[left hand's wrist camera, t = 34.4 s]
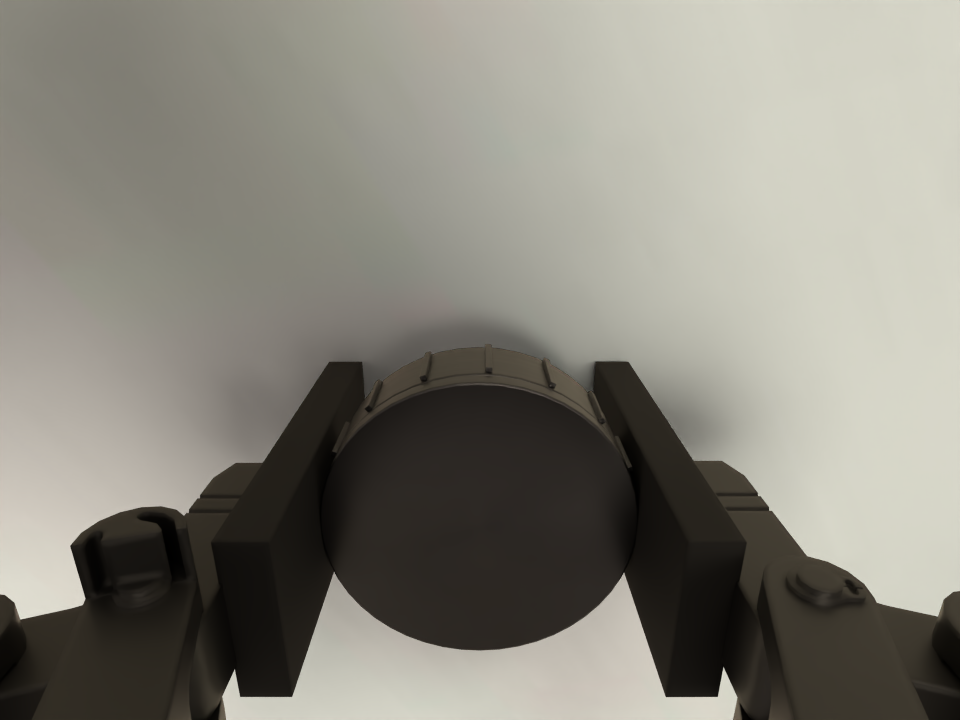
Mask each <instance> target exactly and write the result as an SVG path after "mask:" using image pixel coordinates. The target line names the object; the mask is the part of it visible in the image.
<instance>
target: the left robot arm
mask: <svg viewBox="0 0 960 720" xmlns="http://www.w3.org/2000/svg"><path fill="white" fill-rule="evenodd" d="M594 394H595V396H596V399H597V401H598V403H599V406H600V408H601V410H602V412H603V414H604V415H605V417H606V419H607V421H608V424H609V426H610V428H611V430H612V432H613V434H614V437H615V436H619V439H620V441H621V443H622V445H623V447H624V450H625V452H626V454H627V456H628V458H629V461H630V463H631V465H632V468H633V471H632V472H630V473H631V476H632V479H633V483H634V486H635V489H636V494H637V501H638V509H639V511H638V524H637V533H636V541H635V546H634V549H633V552H632V555H631V558H630V561H629V563H628V565H627V567H626V569H625V571H624V573H625V576H626V579H627V582H628V585H629V588H630V591H631V594H632V597H633V600H634V603H635V606H636V609H637V612H638V615H639V618H640V621H641V624H642V627H643V630H644V633H645V636H646V639H647V642H648V645H649V648H650V651H651V654H652V657H653V660H654V663H655V666H656V669H657V672H658V675H659V678H660V681H661V684H662V687H663V690H664V693H665V696H666V697H718V692H719V687H720V682H721V676H722V671H723V667H724V669H725V671H726V673H727V675H728V677H729V680H730V682H731V684H732V686H733V688H734V690H735V693H736V695H737V697H738V698H737V703H736V708H735V713H734V718H733V720H960V591H958V592H953V593H952V594H950V595H949V596H948V597H947V598H945V599H944V601H943V604H942V607H941V610H940V613H939V615H938V617H936V616H932V615H927V614H923V613H918V612H913V611H909V610H904V609H899V608H895V607H890V606H886V605H882V604H879V603H876V601H875V598H874V597H873V596H872V594H871V593H870V591H869V590H868V589H867V587H866V586H865V585H864V584H863V583H862V582H861V581H859V580H858V579H857V578H855V577H854V576H853V575H852V574H850V573H849V572H848V571H846V570H843V569H841V568H839V567H837V566H835V565H833V564H831V563H829V562H826V561H822V560H819V559H815V558H811V557H808V556H806V554H805V553H804V552H803V550H802V549H801V548H800V547H799V545H798V544H797V543H796V541H795V540H794V539H793V538H792V536H791V535H790V534H789V532H788V531H787V530H786V529H785V527H784V526H783V525H782V523H781V522H780V521H779V520H778V518H777V517H776V516H775V514H774V513H773V512H772V511H769V507H768V505H767V504H766V503H765V502H764V500H763V499H762V498H761V496H758V493H757V491H756V490H755V489H754V487H753V486H752V485H751V484H750V482H749V481H748V480H747V478H746V477H745V476H744V475H743V474H741V473H740V472H738V471H736V470H735V469H733V468H732V467H730V466H729V465H727V464H726V463H724V462H723V461H693V459H692V458H691V456H690V455H689V453H688V452H687V450H686V449H685V447H684V446H683V444H682V443H681V441H680V440H679V438H678V437H677V435H676V434H675V432H674V431H673V429H672V428H671V426H670V424H669V423H668V421H667V420H666V418H665V417H664V415H663V414H662V412H661V411H660V409H659V408H658V406H657V405H656V403H655V402H654V400H653V399H652V397H651V396H650V394H649V393H648V391H647V389H646V388H645V386H644V385H643V383H642V382H641V380H640V379H639V377H638V376H637V374H636V373H635V371H634V370H633V368H632V367H631V365H630V364H629V362H596V367H595V381H594ZM364 400H365V397H364V383H363V370H362V362H329V363H328V365H327V366H326V368H325V369H324V371H323V372H322V374H321V375H320V377H319V378H318V380H317V381H316V383H315V385H314V386H313V388H312V389H311V391H310V392H309V394H308V395H307V397H306V398H305V400H304V401H303V403H302V404H301V406H300V407H299V409H298V410H297V412H296V413H295V415H294V416H293V418H292V419H291V421H290V423H289V424H288V426H287V427H286V429H285V430H284V432H283V433H282V435H281V436H280V438H279V439H278V441H277V442H276V444H275V445H274V447H273V448H272V450H271V451H270V453H269V454H268V456H267V458H266V459H265V461H264V462H263V463H235V464H234V465H232V466H231V467H229V468H228V469H226V470H225V471H223V472H222V473H220V474H219V475H217V476H216V477H214V478H213V479H212V481H211V482H210V483H209V484H208V486H207V487H206V488H205V490H204V491H203V492H202V494H201V495H200V499H197V500H196V501H195V503H194V504H193V505H192V506H191V508H190V509H189V513H186V514H185V516H183V515H182V514H181V513H180V512H178V511H177V510H175V509H170V508H166V507H161V506H160V507H141V508H137V509H133V510H128V511H124V512H120V513H118V514H115V515H113V516H110V517H108V518H106V519H103V520H101V521H99V522H97V523H96V524H94V525H93V526H91V527H90V528H88V529H87V530H85V531H84V532H82V533H81V534H80V535H79V536H78V537H77V539H76V540H75V541H74V542H73V543H72V544H71V546H70V547H71V550H72V553H73V557H74V560H75V564H76V567H77V571H78V574H79V577H80V581H81V584H82V588H83V591H84V595H85V598H86V599H85V602H84V604H83V605H82V606H79V607H75V608H72V609H67V610H63V611H58V612H54V613H49V614H44V615H40V616H35V617H31V618H26V619H22V620H20V618H19V615H18V612H17V609H16V606H15V603H14V602H13V601H11V600H10V599H9V598H8V597H7V596H5V595H0V720H226V716H225V708H224V703H223V698H222V696H223V693H224V691H225V689H226V687H227V685H228V682H229V680H230V678H231V676H232V674H233V672H234V669H235V672H236V677H237V682H238V688H239V693H240V697H292V695H293V693H294V690H295V687H296V684H297V681H298V678H299V675H300V672H301V669H302V666H303V663H304V660H305V657H306V654H307V651H308V648H309V645H310V642H311V639H312V636H313V633H314V630H315V627H316V624H317V621H318V618H319V615H320V612H321V609H322V606H323V603H324V600H325V597H326V594H327V591H328V588H329V585H330V582H331V579H332V576H333V573H334V570H333V568H332V566H331V565H330V562H329V560H328V557H327V554H326V551H325V548H324V545H323V540H322V534H321V525H320V503H321V494H322V490H323V487H324V483H325V480H326V476H327V474H328V472H329V469H330V467H331V465H332V463H333V460H334V458H335V457H332V456H330V455H331V453H332V450H333V448H334V446H335V444H336V442H337V440H338V437H339V435H340V433H341V431H342V429H343V427H344V424H345V422H349V423H350V422H351V420H352V418H353V416H354V414H355V413H356V411H357V410H358V408H359V407H360V405H361V404H362V402H363V401H364Z"/></svg>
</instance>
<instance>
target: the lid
mask: <svg viewBox="0 0 960 720" xmlns="http://www.w3.org/2000/svg"><path fill="white" fill-rule="evenodd" d="M330 456H332V457H335V458H334V460H333V463H332V465H331V467H330V469H329V472H328V474H327V476H326V480H325V483H324V487H323V490H322V494H321V503H320V525H321V534H322V540H323V545H324V548H325V551H326V554H327V557H328V560H329V562H330V565H331V566H332V568H333V570H334V572H335V574H336V576H337V578H338V579H339V581H340V582H341V583H342V585H343V586H344V588H345V589H346V590H347V592H348V593H349V594H350V595H351V596H352V597H353V598H354V599H355V601H356V602H357V603H358V604H359V605H360V606H361V607H362V608H364V609H365V610H366V611H367V612H369V613H370V614H371V615H372V616H373V617H375V618H376V619H378V620H379V621H381V622H382V623H384V624H385V625H387V626H389V627H390V628H392V629H394V630H396V631H398V632H400V633H402V634H404V635H406V636H409V637H412V638H414V639H417V640H420V641H422V642H426V643H430V644H434V645H437V646H441V647H447V648H454V649H461V650H496V649H504V648H511V647H517V646H521V645H525V644H529V643H533V642H536V641H539V640H542V639H544V638H547V637H549V636H552V635H554V634H556V633H558V632H560V631H562V630H564V629H566V628H568V627H570V626H572V625H573V624H575V623H576V622H578V621H579V620H581V619H582V618H584V617H585V616H586V615H588V614H589V613H590V612H591V611H592V610H594V609H595V608H596V607H597V606H598V605H599V604H600V603H601V602H602V601H603V600H604V599H605V598H606V597H607V596H608V595H609V593H610V592H611V591H612V590H613V588H614V587H615V585H616V584H617V583H618V581H619V580H620V578H621V577H622V575H623V573H624V571H625V569H626V567H627V565H628V563H629V561H630V558H631V555H632V552H633V549H634V546H635V541H636V533H637V524H638V511H639V509H638V501H637V494H636V489H635V486H634V483H633V479H632V476H631V473H630V472H632V471H633V468H632V465H631V463H630V461H629V458H628V456H627V454H626V452H625V450H624V447H623V445H622V443H621V441H620V439H619V436H615V437H614V434H613V432H612V430H611V428H610V426H609V424H608V421H607V419H606V417H605V415H604V414H603V412H602V410H601V408H600V406H599V403H598V401H597V399H596V396H595V394H594V393H593V392H592V391H590V392H587V391H586V390H585V389H584V388H583V387H582V386H581V385H579V384H578V383H577V382H576V381H575V380H573V379H572V378H571V377H570V376H569V375H567V374H565V373H564V372H562V371H561V370H559V369H558V368H556V367H554V366H553V365H551V364H550V361H549V360H548V359H546V358H544V359H543V361H542V360H540V359H537V358H535V357H532V356H529V355H526V354H522V353H519V352H515V351H510V350H504V349H498V348H491V345H490V344H485V348H482V347H475V348H461V349H454V350H449V351H444V352H439V353H436V354H433V355H432V353H431V352H427V353H425V356H424V358H421V359H418V360H416V361H414V362H412V363H410V364H408V365H406V366H404V367H402V368H401V369H399V370H398V371H396V372H395V373H393V374H391V375H390V376H388V377H387V378H386V379H385V380H384V381H383V382H382V381H381V380H380V379H379V380H378V381H376V382H375V385H374V387H373V389H372V392H371V393H370V394H369V395H368V396H367V397H366V399H365V400H364V401H363V402H362V404H361V405H360V407H359V408H358V410H357V411H356V413H355V414H354V416H353V418H352V420H351V422H350V423H349V422H345V424H344V427H343V429H342V431H341V433H340V435H339V437H338V440H337V442H336V444H335V446H334V448H333V450H332V453H331V455H330Z"/></svg>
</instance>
